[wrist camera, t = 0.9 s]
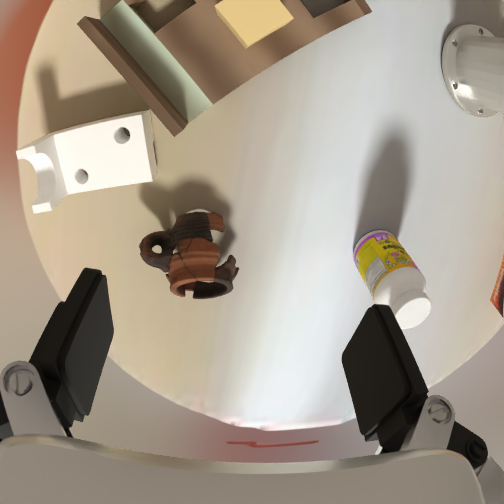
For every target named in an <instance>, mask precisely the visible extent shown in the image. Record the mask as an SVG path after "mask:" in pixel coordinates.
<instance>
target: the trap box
mask: <svg viewBox="0 0 504 504" xmlns="http://www.w3.org/2000/svg"><path fill="white" fill-rule="evenodd" d="M145 1H146V0H121V1H120V2H119V3H118V4H116V5H115V6H114V7H113V8H112V9H111V10H110V11H108V12H107V13H106V14H105V15H104V16H103V17H102V18H101V19H100V20H98V19H95V18H90V17H86V16H84V17H83V18H82V19H81V20H80V21H79V22H78V23H77V25H78V26H79V27H80V28H81V29H82V30H83V31H84V33H85V34H86V35H87V36H88V37H89V38H90V39H91V41H92V42H93V43H94V44H95V45H96V46H97V47H98V49H99V50H100V51H101V52H102V53H103V54H104V56H105V57H106V58H107V59H108V60H109V61H110V62H111V64H112V65H113V66H114V67H115V68H116V69H117V71H118V72H119V73H120V74H121V75H122V76H123V77H124V79H125V80H126V81H127V82H128V83H129V84H130V86H131V87H132V88H133V89H134V90H135V91H136V93H137V94H138V95H139V96H140V97H141V98H142V100H143V101H144V102H145V103H146V104H147V105H148V107H149V108H150V109H151V110H152V111H153V112H154V114H155V115H156V116H157V117H158V118H159V120H160V121H161V122H162V123H163V124H164V125H165V127H166V128H167V129H168V130H169V131H170V133H171V134H172V135H173V136H174V137H175V136H176V135H177V134H178V133H180V132H181V131H182V130H183V129H184V128H185V127H186V125H187V124H188V123H189V122H190V121H192V120H193V119H194V118H196V117H197V116H198V115H200V114H201V113H202V112H204V111H205V110H206V109H208V108H209V107H210V106H212V105H213V104H215V103H216V102H217V101H219V100H220V99H222V98H223V97H224V96H226V95H227V94H229V93H230V92H232V91H233V90H234V89H236V88H237V87H239V86H240V85H242V84H243V83H245V82H246V81H248V80H249V79H251V78H252V77H254V76H255V75H257V74H259V73H260V72H262V71H263V70H265V69H266V68H268V67H270V66H271V65H273V64H275V63H276V62H278V61H279V60H281V59H283V58H284V57H286V56H288V55H290V54H291V53H293V52H295V51H296V50H298V49H300V48H302V47H303V46H305V45H307V44H309V43H311V42H312V41H314V40H316V39H318V38H320V37H322V36H324V35H326V34H327V33H329V32H331V31H333V30H335V29H337V28H339V27H341V26H343V25H345V24H347V23H349V22H351V21H353V20H356V19H358V18H360V17H362V16H364V15H366V14H369V13H371V12H372V11H371V9H370V7H369V6H368V4H367V3H366V1H365V0H344V1H345V2H346V3H344V4H342V5H340V6H338V7H336V8H333V9H331V10H329V11H327V12H325V13H323V14H321V15H319V16H317V17H315V18H313V17H312V16H311V14H310V13H309V12H308V10H307V9H306V8H305V6H304V5H303V4H302V2H301V1H300V0H280V1H281V2H282V4H283V5H284V6H285V7H286V9H287V10H288V11H289V13H290V14H291V15H292V16H293V18H294V19H292V20H291V21H290V22H289V23H287V24H286V25H285V26H283V27H281V28H279V29H277V30H276V31H274V32H272V33H271V34H269V35H267V36H265V37H264V38H262V39H260V40H259V41H257V42H256V43H254V44H252V45H251V46H249V47H248V48H246V49H245V47H244V46H243V45H242V44H241V42H240V41H239V40H238V39H237V37H236V36H235V35H234V34H233V33H232V31H231V30H230V29H229V28H228V26H227V25H226V24H225V23H224V22H223V20H222V19H221V18H220V17H219V16H218V15H217V12H216V9H215V5H216V4H218V3H219V2H221V1H223V0H193V1H194V2H195V3H196V4H194V5H193V6H191V7H190V8H188V9H187V10H185V11H184V12H182V13H181V14H180V15H178V16H177V17H176V18H174V19H173V20H171V21H170V22H169V23H167V24H166V25H165V26H164V27H162V28H161V29H160V30H158V31H157V32H155V31H154V29H153V28H152V27H151V26H150V25H149V24H148V23H147V22H146V20H145V19H144V18H143V17H142V16H141V15H140V14H139V13H138V12H137V11H136V8H137V7H138V6H140V5H141V4H142V3H143V2H145Z"/></svg>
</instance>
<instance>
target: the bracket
mask: <svg viewBox="0 0 504 504" xmlns="http://www.w3.org/2000/svg"><path fill="white" fill-rule="evenodd" d="M124 127H125V128H127V129H128V130H129V132H130V136H127V135H126V134H125V132H124ZM153 142H154V137H153V130H152V123H151V116H150V110H146V111H140V112H135V113H130V114H125V115H120V116H115V117H110V118H106V119H101V120H97V121H93V122H89V123H85V124H81V125H77V126H73V127H69V128H66V129H62V130H59V131H55V132H52V133H49V134H47V135H45V136H43V137H41V138H39V139H37V140H35V141H34V142H32V143H30V144H28V145H26V146H24V147H23V148H21V149H19V150H17V151H16V153H17V157H18V160H19V159H22V158H24V159H27V160H29V161H30V162H31V163H32V165H33V166H34V168H35V171H36V174H37V178H38V193H37V197H36V200H35V202H34V203H33V205H32V209H33V212H34V214H35V213H40V212H46V211H51V210H53V209H54V208H55V207H56V206H57V205H58V204H59V203H60V202H61V201H62V200H63V199H64V198H65V197H66V196H67V195H68V194H73V193H79V192H85V191H90V190H96V189H102V188H109V187H115V186H122V185H129V184H136V183H143V182H151V181H153V180H154V178H155V176H156V175H157V173H158V172H157V166H156V160H155V154H154V147H153ZM84 170H85V171H86V172H87V173H88V175H87V174H86V173H85V171H84Z"/></svg>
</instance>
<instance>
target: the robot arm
mask: <svg viewBox="0 0 504 504" xmlns="http://www.w3.org/2000/svg"><path fill="white" fill-rule="evenodd" d="M442 70H443V75H444V79H445V82H446V85H447V88H448V90H449V92H450V94H451V96H452V98H453V99H454V100H455V102H456V103H457V104H458V105H459V106H460V107H461V108H462V109H463V110H465V111H466V112H468V113H470V114H472V115H475V116H478V117H489V116H492V115H494V114H496V113H497V112H500V113H502V114H504V38H499V37H495V36H494V35H493V34H492V33H491V32H490V31H489V30H487V29H485V28H484V27H482V26H479V25H474V24H466V25H461V26H458V27H456V28H455V29H454V30H452V31H451V33H450V34H449V35H448V37H447V39H446V41H445V43H444V47H443V52H442ZM113 334H114V328H113V321H112V315H111V308H110V301H109V294H108V286H107V278H106V275H102V272H101V270H97V269H91V268H84V269H83V271H82V273H81V274H80V276H79V278H78V279H77V281H76V283H75V285H74V286H73V288H72V290H71V292H70V294H69V295H68V297H67V299H66V301H65V302H63V301H61V302H60V303H59V304H58V305H57V307H56V309H55V310H54V312H53V314H52V316H51V318H50V320H49V322H48V324H47V326H46V327H45V330H44V331H43V334H42V335H41V338H40V339H39V342H38V344H37V345H36V347H35V350H34V352H33V354H32V356H31V358H30V360H29V362H26V361H15V362H12V363H10V364H8V365H7V366H6V367H5V368H4V369H3V371H2V372H1V374H0V504H504V471H503V470H502V469H501V468H500V466H499V465H498V464H497V463H496V462H495V461H494V460H493V458H492V457H491V456H490V457H489V458H487V456H488V451H487V446H486V444H485V442H484V441H483V439H481V438H480V437H479V436H477V435H476V434H474V433H473V432H471V431H470V430H468V429H467V428H465V427H464V426H462V425H460V424H459V423H457V422H456V421H454V420H455V412H454V409H453V407H452V405H451V404H450V402H449V401H448V400H447V399H445V398H444V397H442V396H439V395H433V396H430V397H429V398H428V396H427V393H428V392H429V391H428V389H427V386H426V384H425V382H424V379H423V377H422V374H421V372H420V370H419V367H418V365H417V363H416V361H415V358H414V356H413V354H412V352H411V349H410V347H409V345H408V343H407V341H406V339H405V336H404V334H403V332H402V330H401V328H400V326H399V324H398V322H397V320H396V318H395V315H394V313H393V311H392V309H391V307H390V306H389V305H384V304H374V305H372V307H369V308H368V309H367V311H366V313H365V315H364V317H363V318H362V320H361V322H360V324H359V326H358V327H357V329H356V331H355V333H354V334H353V336H352V338H351V340H350V341H349V343H348V345H347V346H346V348H345V350H344V352H343V354H342V364H343V368H344V371H345V375H346V379H347V382H348V386H349V390H350V394H351V397H352V401H353V405H354V409H355V413H356V417H357V421H358V425H359V429H360V432H361V434H362V435H364V436H365V441H374V440H378V439H379V443H380V445H379V447H378V449H377V451H376V453H375V455H370V456H364V457H355V458H348V459H338V460H327V461H315V462H296V463H238V462H219V461H206V460H195V459H185V458H177V457H169V456H162V455H154V454H149V453H143V452H138V451H132V450H127V449H121V448H116V447H111V446H107V445H103V444H98V443H94V442H89V441H85V440H80V439H75V437H74V435H73V433H72V431H71V429H70V427H72V424H73V421H74V420H77V421H80V422H83V419H84V415H87V416H88V415H89V413H90V411H91V407H92V403H93V400H94V396H95V392H96V389H97V386H98V383H99V379H100V376H101V373H102V369H103V366H104V363H105V360H106V357H107V354H108V351H109V348H110V345H111V342H112V339H113Z"/></svg>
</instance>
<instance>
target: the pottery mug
mask: <svg viewBox="0 0 504 504" xmlns="http://www.w3.org/2000/svg"><path fill="white" fill-rule="evenodd" d="M210 230H217V231H221V232H223V231H224V230H225V226H224V223H223V218H222V217H221V216H219V215H217V214H214V213H206V212H194V213H188V214H185V215H183V216H181V217H179V218H178V219H177V220H176V223H175V225H174V227H173V229H172V230H170V229H168V230H167V231H158V232H154V233H151V234H149V235H147V236H146V237H144V238H143V240H142V242H141V243H140V245H139V248H140V250H141V253H140V255H141V257H142V259H143V260H144V261H145V262H146V263H147V264H148V265H150V266H153V267H156V268H159V269H161V270H162V271H163V272H169V274H166V277H167V279H168V280H169V282H170V284H171V285H170V290H171V292H172V293H173V294H175V295H177V296H180V297H185V290H186V291H194V294H193V298H194V299H208V298H215V297H218V296H222V295H225V294H227V293H229V292H231V291H232V289H233V285H232V281H233V280H234V278H235V277H236V275H237V273H238V270H239V268H238V267H237V268H236V267H235V264H236V259H235V258H234V257H233V255H229V257H228V259H227V261H226V262H225V263H224V264H222V265H221V266H218V267H216V266H217V262H218V260H219V256H220V253H221V252H220V249H219V247H218V245H216V244H215V243H213V242H212V241H213V239H212V235H211V231H210ZM155 245H159V246H161V248H162V253H155V252H153V251H152V247H154V246H155ZM176 246H177V248H178V251H179V252H178V253H174V254H173V250H174V249H175V247H176ZM202 281H214V282H211V283H208V282H202Z"/></svg>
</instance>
